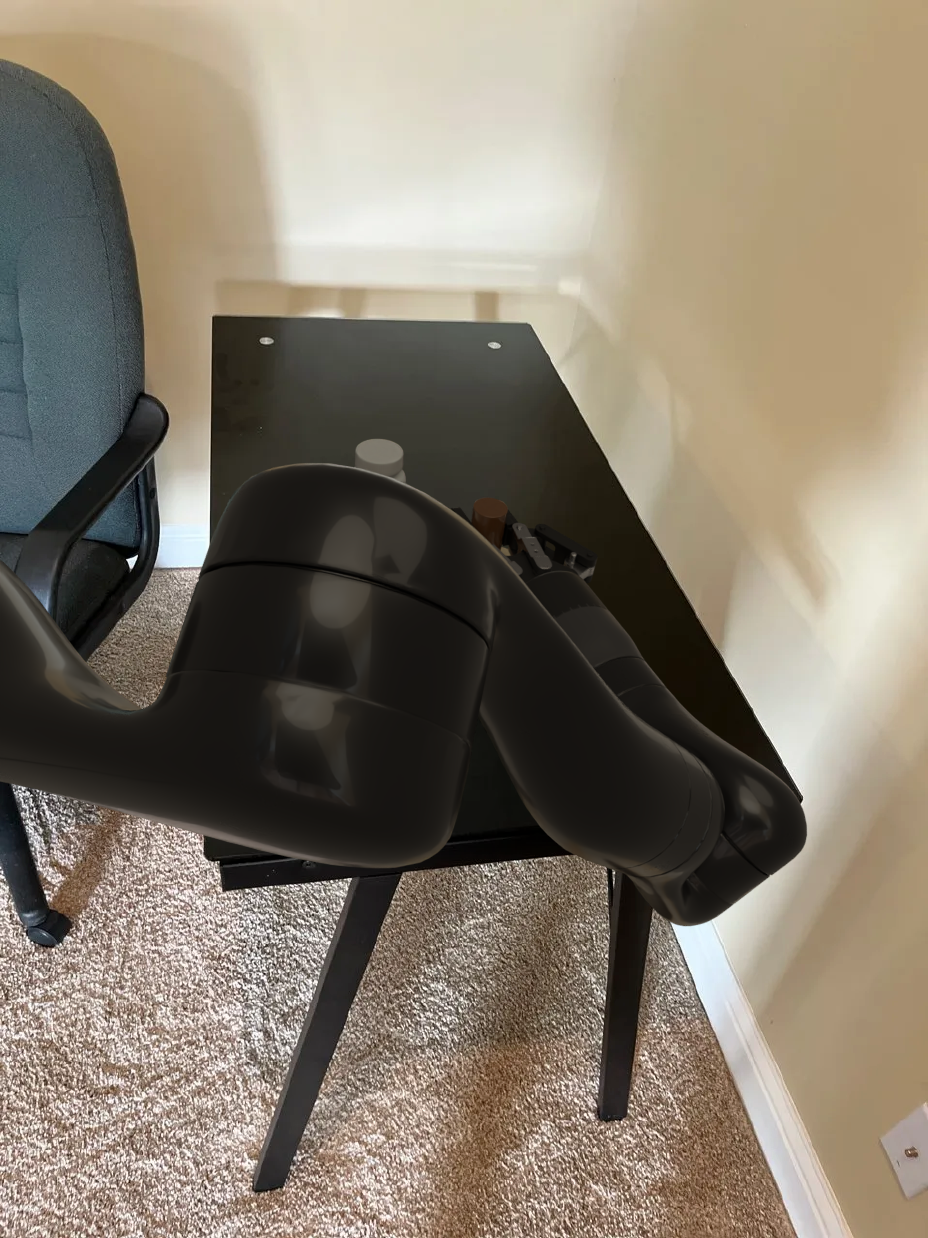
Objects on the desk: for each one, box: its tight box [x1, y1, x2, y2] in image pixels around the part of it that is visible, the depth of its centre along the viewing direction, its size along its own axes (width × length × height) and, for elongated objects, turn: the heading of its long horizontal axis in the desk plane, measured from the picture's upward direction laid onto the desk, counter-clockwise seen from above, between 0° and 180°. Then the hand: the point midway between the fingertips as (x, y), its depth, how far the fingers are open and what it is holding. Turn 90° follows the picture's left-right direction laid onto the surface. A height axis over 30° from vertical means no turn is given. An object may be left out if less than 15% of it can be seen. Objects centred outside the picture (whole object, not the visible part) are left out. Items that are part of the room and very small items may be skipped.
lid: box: [470, 497, 511, 556], centre depth 69 cm, size 12×12×9 cm
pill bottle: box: [354, 438, 407, 484], centre depth 92 cm, size 6×6×11 cm
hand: (471, 513), depth 70 cm, fingers closed on lid, 3 cm apart
